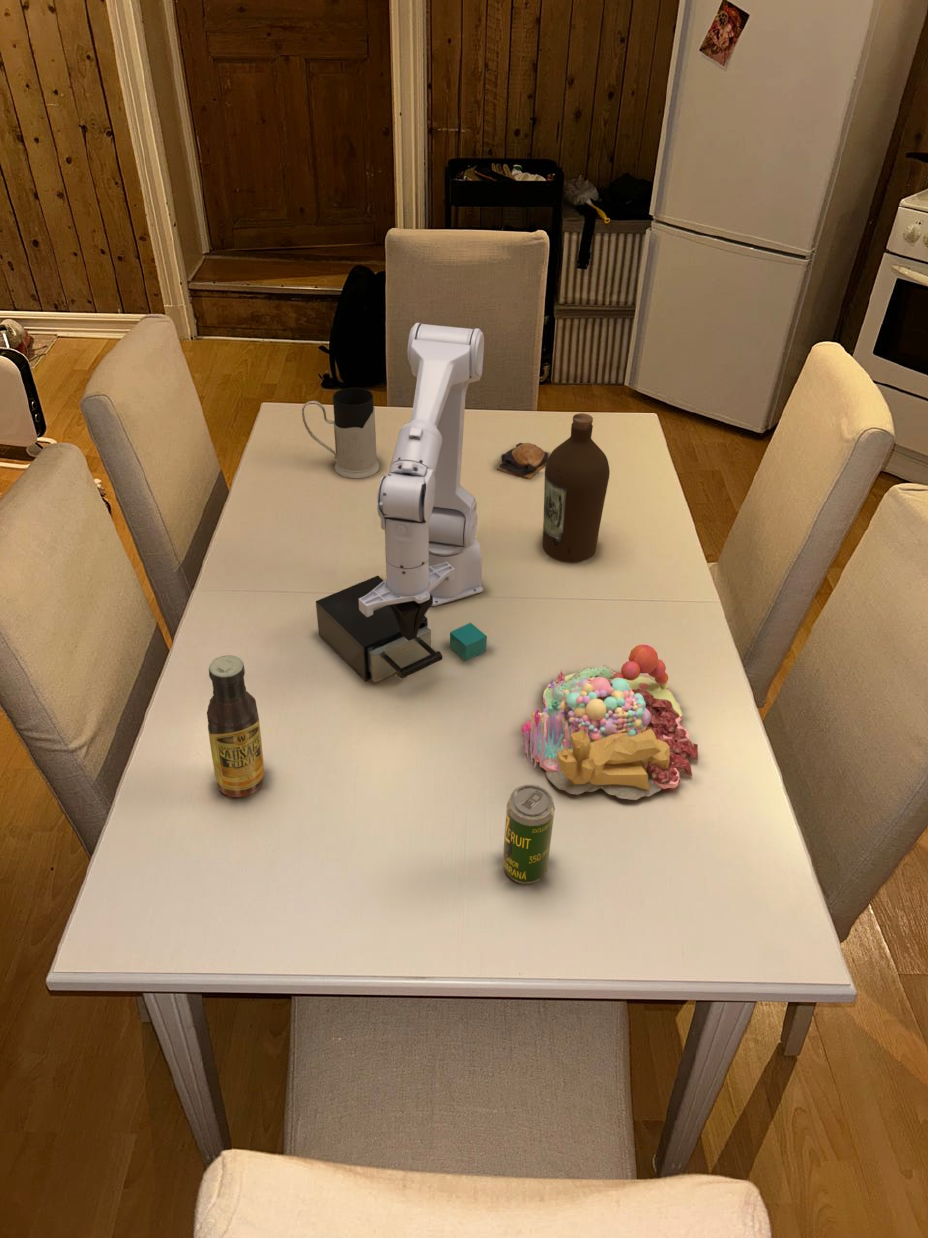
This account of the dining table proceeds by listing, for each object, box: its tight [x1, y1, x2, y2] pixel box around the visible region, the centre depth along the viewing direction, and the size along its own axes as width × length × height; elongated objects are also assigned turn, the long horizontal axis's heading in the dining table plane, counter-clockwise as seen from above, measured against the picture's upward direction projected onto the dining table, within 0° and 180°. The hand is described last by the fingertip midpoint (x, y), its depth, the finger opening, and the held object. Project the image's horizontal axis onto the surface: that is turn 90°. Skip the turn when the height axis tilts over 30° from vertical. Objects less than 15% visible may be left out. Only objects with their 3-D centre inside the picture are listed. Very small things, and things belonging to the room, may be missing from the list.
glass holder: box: [301, 387, 380, 479], centre depth 183 cm, size 9×14×15 cm, turn 89°
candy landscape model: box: [521, 644, 699, 801], centre depth 129 cm, size 25×24×9 cm
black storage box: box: [315, 575, 429, 683], centre depth 144 cm, size 13×11×7 cm
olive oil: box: [542, 412, 611, 563], centre depth 160 cm, size 11×11×25 cm
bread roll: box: [496, 442, 552, 480], centre depth 189 cm, size 11×8×4 cm
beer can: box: [502, 784, 556, 885], centre depth 111 cm, size 5×5×12 cm
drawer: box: [367, 626, 444, 683], centre depth 141 cm, size 17×10×5 cm, turn 38°
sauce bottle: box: [206, 654, 265, 798], centre depth 118 cm, size 7×6×20 cm
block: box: [449, 622, 488, 662], centre depth 145 cm, size 4×4×3 cm
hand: (408, 635), depth 135 cm, fingers closed
